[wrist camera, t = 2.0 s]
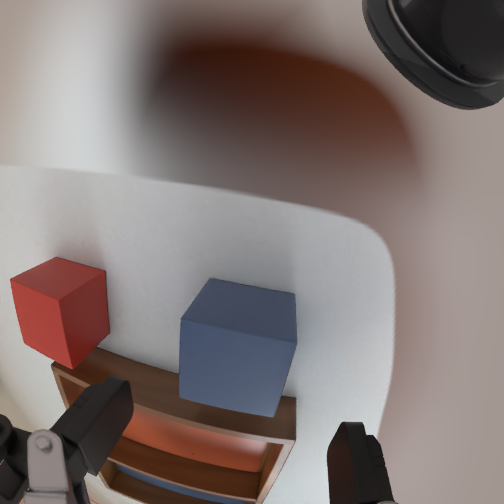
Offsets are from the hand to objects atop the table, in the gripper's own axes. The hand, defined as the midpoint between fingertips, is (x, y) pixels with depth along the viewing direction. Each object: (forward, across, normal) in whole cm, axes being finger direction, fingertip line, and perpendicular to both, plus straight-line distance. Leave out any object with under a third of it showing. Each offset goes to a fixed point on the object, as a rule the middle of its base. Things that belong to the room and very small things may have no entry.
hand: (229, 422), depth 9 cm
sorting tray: (+7, +5, +14) cm, 17 cm away
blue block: (+7, 0, -1) cm, 7 cm away
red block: (+7, +11, 0) cm, 13 cm away
